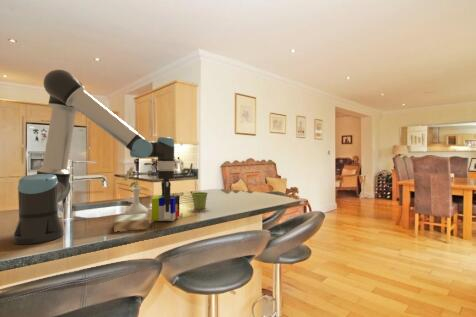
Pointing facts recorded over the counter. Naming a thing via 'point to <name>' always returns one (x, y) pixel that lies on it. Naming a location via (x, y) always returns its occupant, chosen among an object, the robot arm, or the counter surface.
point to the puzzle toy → (159, 208)
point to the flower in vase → (135, 198)
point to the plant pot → (199, 200)
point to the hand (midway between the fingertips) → (165, 215)
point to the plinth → (131, 222)
